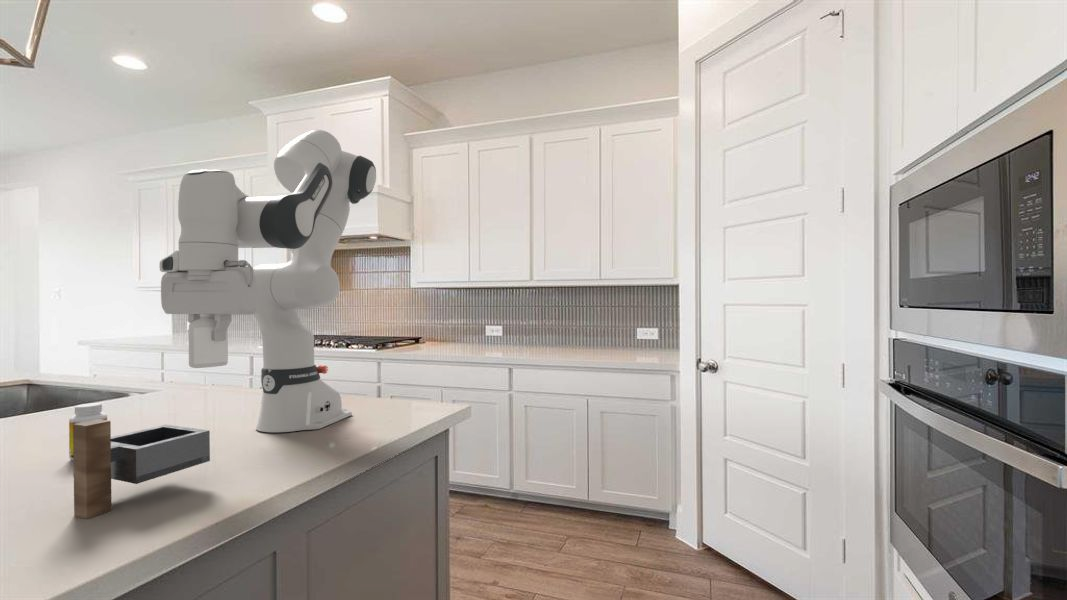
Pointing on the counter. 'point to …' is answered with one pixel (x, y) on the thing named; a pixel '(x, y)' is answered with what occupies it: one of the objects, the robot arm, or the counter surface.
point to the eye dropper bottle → (206, 344)
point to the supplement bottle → (84, 419)
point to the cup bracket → (128, 459)
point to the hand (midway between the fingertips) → (209, 340)
